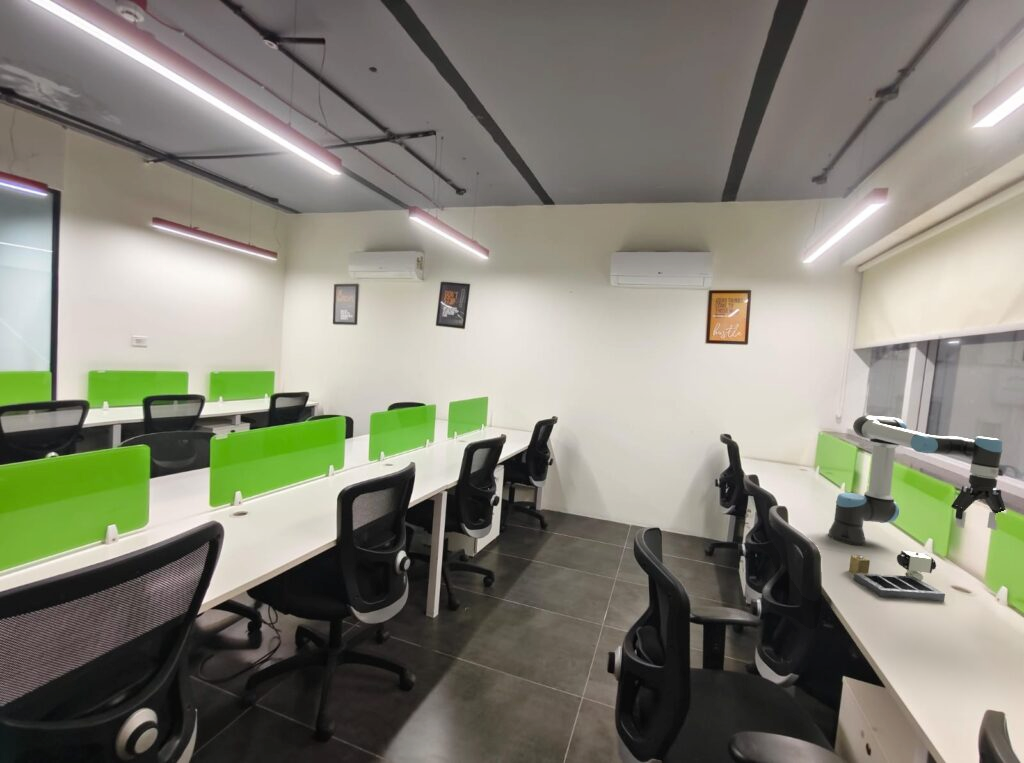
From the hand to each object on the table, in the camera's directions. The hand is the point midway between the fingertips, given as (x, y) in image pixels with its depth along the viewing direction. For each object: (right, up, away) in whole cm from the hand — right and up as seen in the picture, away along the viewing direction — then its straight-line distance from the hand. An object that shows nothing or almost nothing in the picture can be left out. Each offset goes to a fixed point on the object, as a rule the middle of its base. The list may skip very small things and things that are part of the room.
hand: (975, 527), depth 174 cm
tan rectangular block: (-38, -24, +12) cm, 46 cm away
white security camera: (-16, -25, +10) cm, 32 cm away
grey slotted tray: (-32, -25, -1) cm, 41 cm away
